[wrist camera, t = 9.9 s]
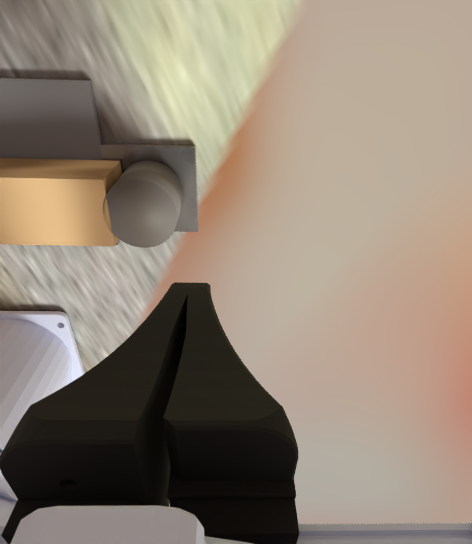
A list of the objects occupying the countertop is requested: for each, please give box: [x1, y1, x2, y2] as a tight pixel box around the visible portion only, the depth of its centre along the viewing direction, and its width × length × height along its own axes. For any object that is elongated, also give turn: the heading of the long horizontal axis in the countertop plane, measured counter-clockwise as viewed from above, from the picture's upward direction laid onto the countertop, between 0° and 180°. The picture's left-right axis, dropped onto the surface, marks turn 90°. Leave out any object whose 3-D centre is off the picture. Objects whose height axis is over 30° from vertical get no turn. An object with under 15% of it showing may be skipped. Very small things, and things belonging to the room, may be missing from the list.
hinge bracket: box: [100, 143, 198, 232], centre depth 20 cm, size 5×5×1 cm
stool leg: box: [0, 158, 184, 248], centre depth 18 cm, size 16×4×3 cm, turn 88°
